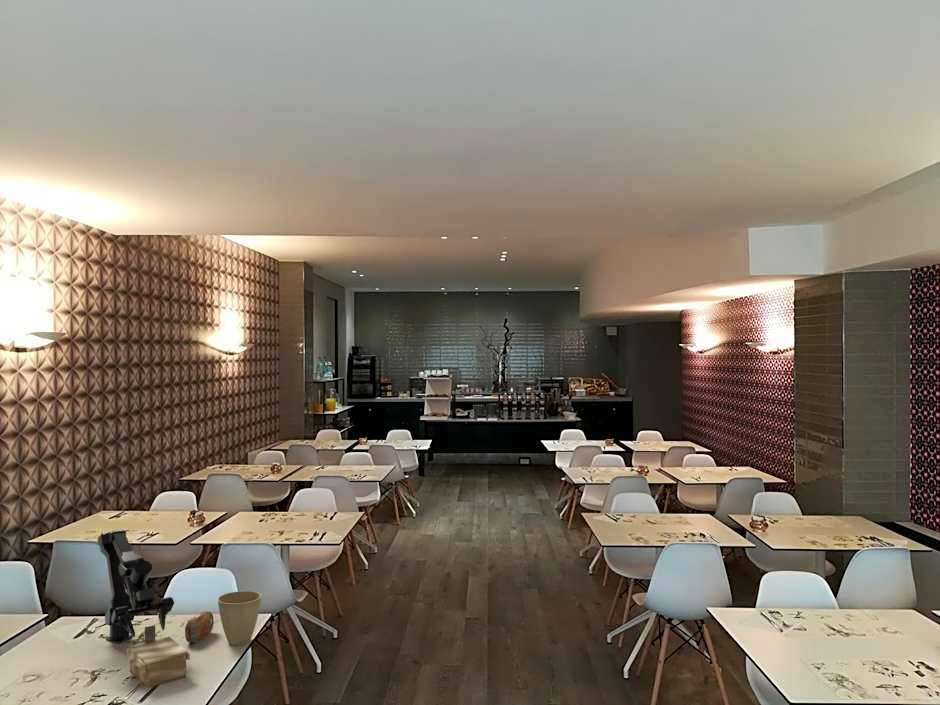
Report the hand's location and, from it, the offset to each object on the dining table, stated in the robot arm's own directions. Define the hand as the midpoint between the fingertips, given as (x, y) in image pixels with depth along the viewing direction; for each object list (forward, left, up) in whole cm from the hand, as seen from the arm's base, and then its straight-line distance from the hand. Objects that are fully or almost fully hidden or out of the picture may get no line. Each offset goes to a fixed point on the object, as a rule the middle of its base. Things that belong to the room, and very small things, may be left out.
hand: (149, 632), depth 242 cm
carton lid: (+8, -3, -6) cm, 10 cm away
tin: (-5, +25, -11) cm, 28 cm away
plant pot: (+10, +29, -11) cm, 33 cm away
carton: (+8, -3, -11) cm, 14 cm away
